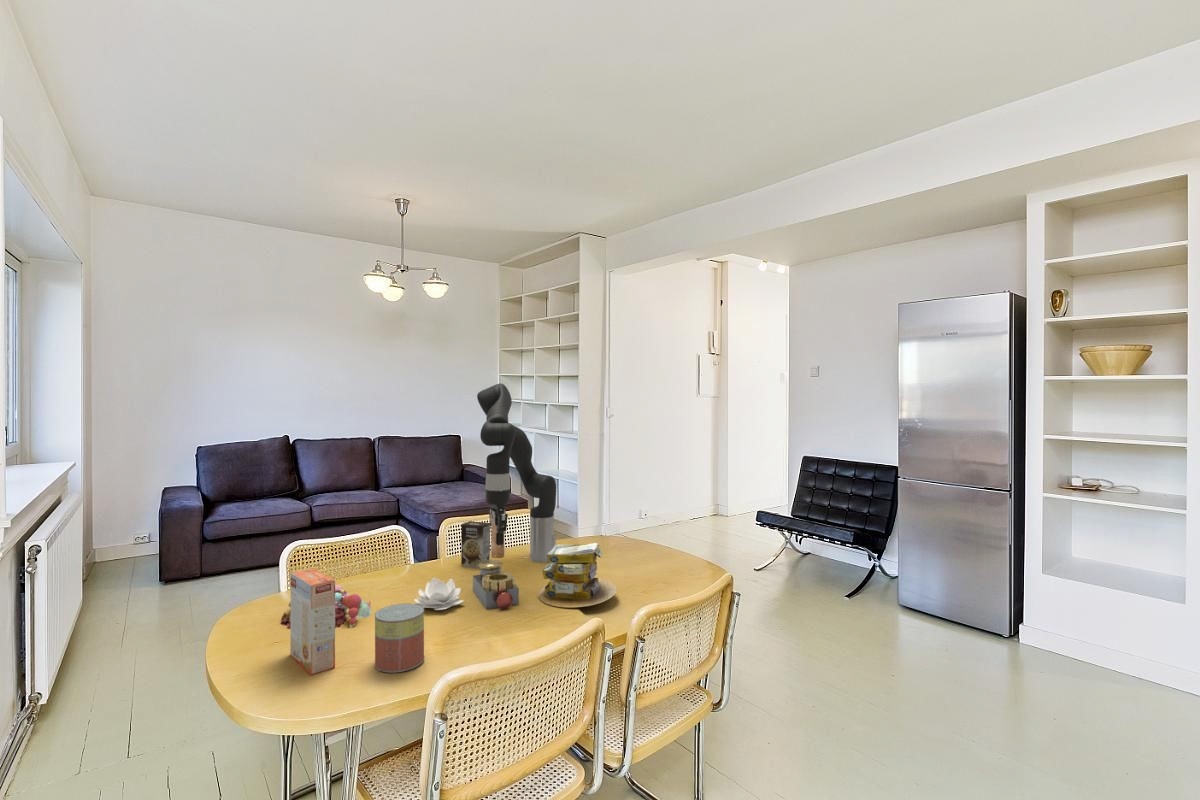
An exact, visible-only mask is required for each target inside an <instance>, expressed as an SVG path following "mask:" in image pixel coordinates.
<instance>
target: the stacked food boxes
mask: <svg viewBox="0 0 1200 800" xmlns="http://www.w3.org/2000/svg"><path fill="white" fill-rule="evenodd" d="M601 549H602V548H601V547H600V545H599V543H598V542H593V543H586V544H585V543H584V544H581V543H580V544H579V543H575V544H556V545H555V546H554V547H553V548H552V549H551V550H550V551H549V552H548V554H547V558H548V562H547V563H548V564H547V565H546V566H545V567H544V568H542V575H543V579H544V580H549V581H548V583H547V584H546V585H544V586H543V587H542V588H540V589H539V591H538V593H537V598H538V599H539V600H540V601H541V602H542V603H544V604H546V605H549V606H552V607H558V608H582V607H590V606H594V605H597V604H598V605H599V604H601V603H605V602H606V601H608V600H609V599H611V598H612V597H614V596H615V594H616V593H617V586H616V585H615V584H614V583H613V582H611V581H610V580H607V579H605V578H600V577H596V575H597V570H598V564H597V561H598V558H602V556H603V551H602V550H601Z"/></svg>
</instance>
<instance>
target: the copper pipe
mask: <svg viewBox="0 0 1200 800" xmlns="http://www.w3.org/2000/svg"><path fill="white" fill-rule="evenodd" d="M496 522H498V521H496ZM500 528H502V526H500ZM504 557H505V543H504V544H503V545H497V544H496V526H495V525H494V518H493V517H492V518H491V526H490V558H491V559H502V558H504Z"/></svg>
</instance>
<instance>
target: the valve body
mask: <svg viewBox="0 0 1200 800" xmlns="http://www.w3.org/2000/svg"><path fill="white" fill-rule="evenodd" d="M479 567H480V570H479V571H480V574H476V575H472V592H473V594H474V595H475V596H476V597H477V599H478V601H479V602H480V603H481V604H482V605H483V607H484V608H485V610H489V609H496V608H499V609H500V610H501V609H502V610H507V609H509V608H510V607H511V606H514V605H515V606H517V605H519V602H520V601H519V598H520V597H519V596H520V595H519V593H520V592H519V587H518V585H516V583H515V575H514V574H512V573H509V572H504V571H502V567H503V562H502V561H501V560H496V559H490V560H488V561H483V562H480V563H479Z"/></svg>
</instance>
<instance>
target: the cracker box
mask: <svg viewBox="0 0 1200 800" xmlns="http://www.w3.org/2000/svg"><path fill="white" fill-rule="evenodd" d="M335 584H336V579H333V578H332V577H330V576H328V575H327V574H324V573H323V572H321V571H319V570H317V569H316V568H308V569H303V570H298V571H293V572H290V602H291V629H290V656H291V658H293V659H294V660H295V662H296V663H298V665H300V667H301V668H302V669H303V670H305V672H306V673H307V674H308V675H310V676H312V675H316V674H319V673H322V672H326V671H329V670H332V669H335V668H336V667H335V666H336V627H335Z"/></svg>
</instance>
